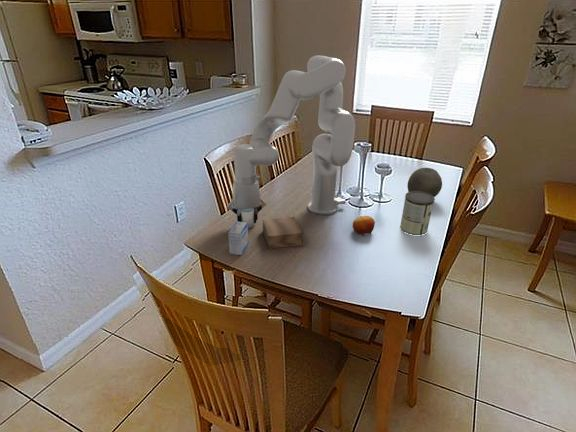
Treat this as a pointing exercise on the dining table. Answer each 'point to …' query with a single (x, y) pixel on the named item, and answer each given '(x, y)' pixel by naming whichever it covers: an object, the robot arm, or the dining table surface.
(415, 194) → the coffee can
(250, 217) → the pill bottle
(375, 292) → the dining table surface
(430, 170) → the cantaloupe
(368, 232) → the fruit
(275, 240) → the walnut block
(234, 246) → the medicine box
